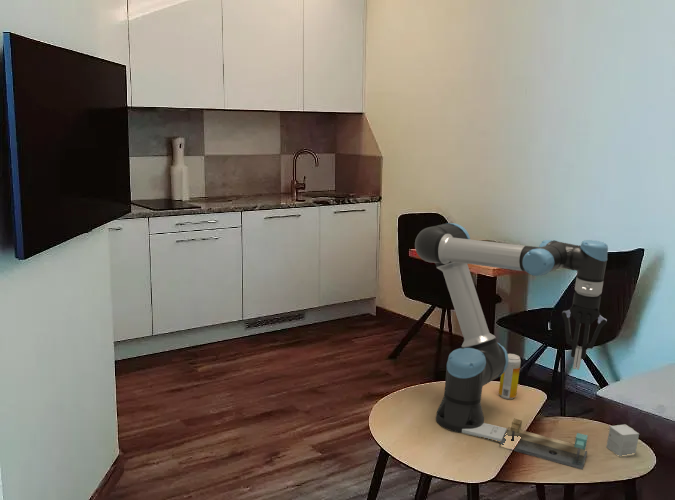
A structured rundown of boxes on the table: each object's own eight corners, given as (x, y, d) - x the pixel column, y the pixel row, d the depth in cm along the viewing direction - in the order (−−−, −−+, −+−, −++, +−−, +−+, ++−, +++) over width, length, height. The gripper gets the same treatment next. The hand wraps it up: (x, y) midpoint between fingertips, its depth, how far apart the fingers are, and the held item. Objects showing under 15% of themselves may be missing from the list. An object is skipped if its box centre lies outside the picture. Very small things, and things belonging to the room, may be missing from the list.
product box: (605, 447, 212) (609, 425, 210) (621, 445, 214) (625, 423, 212) (619, 457, 206) (623, 435, 205) (635, 455, 208) (639, 433, 207)
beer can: (516, 394, 246) (522, 355, 242) (514, 401, 240) (520, 361, 237) (499, 391, 248) (504, 352, 244) (497, 397, 242) (502, 357, 239)
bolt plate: (499, 446, 208) (499, 443, 208) (506, 433, 217) (507, 430, 216) (582, 469, 198) (583, 466, 198) (586, 454, 207) (587, 451, 206)
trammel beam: (503, 439, 210) (505, 424, 209) (508, 432, 215) (509, 417, 214) (582, 461, 201) (585, 445, 200) (585, 452, 206) (587, 437, 205)
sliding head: (572, 457, 202) (574, 441, 201) (574, 448, 207) (577, 432, 206) (582, 460, 201) (585, 443, 199) (585, 451, 206) (587, 435, 205)
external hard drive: (467, 423, 222) (506, 432, 217) (461, 433, 214) (501, 443, 210) (468, 418, 221) (507, 427, 216) (461, 428, 214) (502, 438, 209)
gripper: (562, 291, 203) (551, 366, 208) (610, 300, 197) (598, 377, 202) (566, 286, 209) (555, 359, 215) (612, 294, 204) (600, 368, 209)
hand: (576, 367), depth 208 cm, fingers closed
